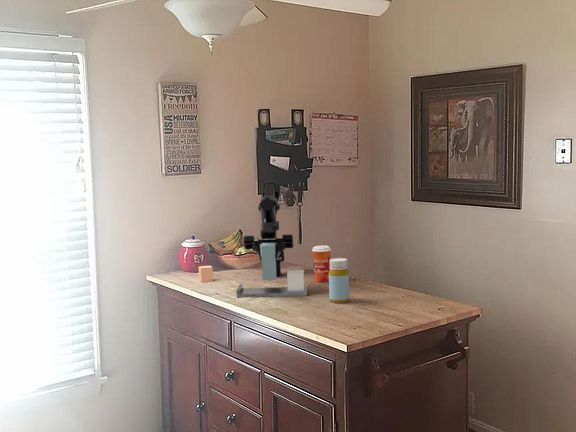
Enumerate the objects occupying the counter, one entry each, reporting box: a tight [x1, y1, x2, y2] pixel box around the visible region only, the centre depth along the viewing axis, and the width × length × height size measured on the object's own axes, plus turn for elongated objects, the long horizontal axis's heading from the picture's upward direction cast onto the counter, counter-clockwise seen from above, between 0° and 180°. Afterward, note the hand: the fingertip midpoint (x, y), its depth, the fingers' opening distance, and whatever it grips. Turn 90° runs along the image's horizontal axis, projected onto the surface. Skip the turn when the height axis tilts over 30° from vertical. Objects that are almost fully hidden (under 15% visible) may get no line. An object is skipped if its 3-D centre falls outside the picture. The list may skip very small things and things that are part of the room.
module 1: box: [198, 265, 214, 284], centre depth 287 cm, size 5×4×6 cm
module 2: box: [260, 243, 277, 281], centre depth 260 cm, size 6×5×13 cm
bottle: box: [328, 257, 350, 304], centre depth 246 cm, size 7×7×15 cm
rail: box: [236, 269, 308, 298], centre depth 261 cm, size 26×10×8 cm, turn 87°
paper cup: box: [311, 245, 332, 283], centre depth 279 cm, size 8×8×14 cm
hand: (268, 260), depth 258 cm, fingers closed on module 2, 5 cm apart
